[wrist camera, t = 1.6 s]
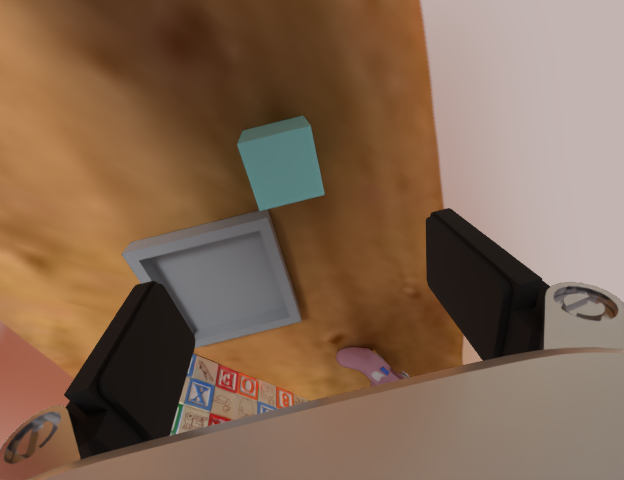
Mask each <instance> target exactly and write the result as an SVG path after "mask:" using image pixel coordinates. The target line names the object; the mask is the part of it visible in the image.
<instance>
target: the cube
mask: <svg viewBox="0 0 624 480" xmlns="http://www.w3.org/2000/svg"><path fill="white" fill-rule="evenodd" d="M237 146H238V149H239V152H240V155H241V158H242V161H243V164H244V167H245V169H246V172H247V175H248V178H249V181H250V184H251V187H252V190H253V193H254V196H255V199H256V202H257V205H258V208H259V211H263V210H267V209H271V208H274V207H278V206H282V205H286V204H290V203H294V202H298V201H302V200H306V199H310V198H314V197H318V196H322V195H325V193H324V188H323V183H322V179H321V174H320V169H319V164H318V159H317V154H316V149H315V144H314V139H313V134H312V130H311V125H310V124H309V123H308V121H307V120H306V118H305V117H304V116H299V117H295V118H291V119H287V120H283V121H279V122H275V123H271V124H267V125H263V126H259V127H255V128H251V129H247V130H243V131H242V133H241V136H240V138H239V140H238V143H237Z"/></svg>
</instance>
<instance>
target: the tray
mask: <svg viewBox="0 0 624 480" xmlns="http://www.w3.org/2000/svg"><path fill="white" fill-rule="evenodd" d="M122 256H123V257H124V259H125V260H126V262H127V263H128V265H129V266H130V268H131V269H132V270H133V272H134V273H135V275H136V276H137V278H138V279H139V281H140V282H141V284H142V283H146V282H150V281H156V282H157V283H158V284H159V283H161V284H163V286H164V287H165V288H166V290H167V292H168V293H169V295H170V297H171V298H172V300H173V302H174V303H175V305H176V307H177V308H178V310H179V311H180V313H181V315H182V316H183V318H184V320H185V321H186V323H187V325H188V326H189V328H190V330H191V331H192V333H193V334H194V337H195V341H196V342H195V348H197V347H201V346H205V345H209V344H213V343H217V342H221V341H225V340H229V339H233V338H237V337H241V336H245V335H249V334H253V333H257V332H261V331H265V330H270V329H274V328H278V327H282V326H286V325H290V324H294V323H298V322H301V314H300V308H299V304H298V301H297V298H296V295H295V292H294V289H293V286H292V283H291V279H290V276H289V273H288V270H287V267H286V264H285V261H284V258H283V255H282V251H281V248H280V245H279V242H278V239H277V236H276V233H275V230H274V227H273V223H272V220H271V217H270V214H269V211H268V209H267V210H263V211H255V212H251V213H247V214H243V215H239V216H235V217H231V218H227V219H223V220H219V221H215V222H211V223H207V224H203V225H199V226H195V227H191V228H186V229H182V230H178V231H174V232H170V233H166V234H162V235H158V236H154V237H150V238H146V239H142V240H138V241H134V242H131V243H130V244H129V245H128V247H127V248H126V249H125V250H124V252H123V253H122Z"/></svg>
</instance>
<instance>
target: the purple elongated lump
mask: <svg viewBox="0 0 624 480" xmlns="http://www.w3.org/2000/svg"><path fill="white" fill-rule="evenodd" d="M336 359H337V362H338V363H339V364H340V365H341V366H343V367H347V368H352V369H356V370H358V371H360V372H362V373H364V374H365V375H366V376H367V377H368V378H369V379H370V380H371V387H372V386H376V385H380V384H384V383H389V382H393V381H397V380H401V379H406V378H407V377H408V378H410V377H409V376H408V374H407V373H406V372H404V371H401V372H402V373H403V374H401V373H398V372H395V371H394V370H392V369H391V367H390V366H389V365H388V364H387V363H386V362H385V361H384V359H383V358H382V357H381V356H379V355H378V354H377V352H376V351H375V350H372V351H371V350H370V349H368V348H366V349H365V348H360V347H347V348H343V349H341V350H340V351H338V352H337V355H336Z"/></svg>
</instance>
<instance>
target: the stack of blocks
mask: <svg viewBox="0 0 624 480" xmlns="http://www.w3.org/2000/svg"><path fill="white" fill-rule="evenodd" d="M305 402H308V400H307V399H305V398H302V397H300V396H297V395H295V394H293V393H291V392H289V391H286V390H284V389H281V388H279V387H276V386H274V385H272V384H269V383H267V382H264V381H262V380H257V379H255V378H252V377H250V376H247V375H245V374H242V373H238V372H237V371H234V370H232V369H229V368H227V367H224V366H222V365H218V363H215V362H212V361H210V360H207V359H205V358H203V357H200V356H197V355H195V354H193V355H192V359H191V362H190V366H189V369H188V373H187V376H186V380H185V383H184V387H183V390H182V394H181V397H180V401H179V404H178V408H177V411H176V415H175V419H174V422H173V426H172V429H171V433H170V435H174V434H178V433H182V432H186V431H190V430H195V429H199V428H203V427H207V426H211V425H215V424H219V423H223V422H227V421H231V420H235V419H239V418H243V417H247V416H251V415H255V414H259V413H264V412H268V411H272V410H276V409H280V408H284V407H288V406H292V405H297V404H301V403H305Z"/></svg>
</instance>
